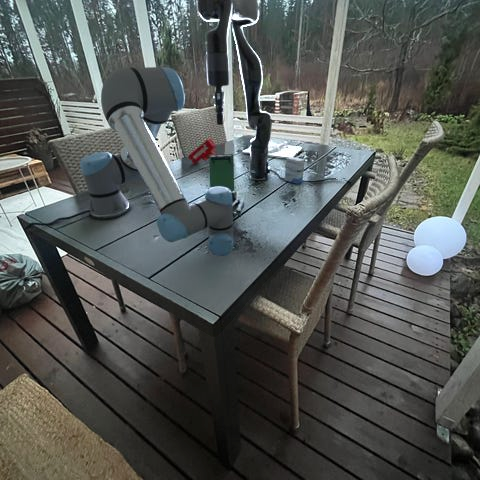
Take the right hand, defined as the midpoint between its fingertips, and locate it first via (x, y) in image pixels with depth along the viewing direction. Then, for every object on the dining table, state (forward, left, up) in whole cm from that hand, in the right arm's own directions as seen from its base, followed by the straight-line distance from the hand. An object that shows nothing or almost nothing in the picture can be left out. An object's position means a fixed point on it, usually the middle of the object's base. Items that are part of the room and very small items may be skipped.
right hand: (220, 122), depth 101 cm
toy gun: (+11, -61, -34) cm, 71 cm away
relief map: (-37, -87, -34) cm, 100 cm away
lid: (0, +6, -17) cm, 18 cm away
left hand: (0, +6, -27) cm, 27 cm away
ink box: (-37, -27, -34) cm, 57 cm away
